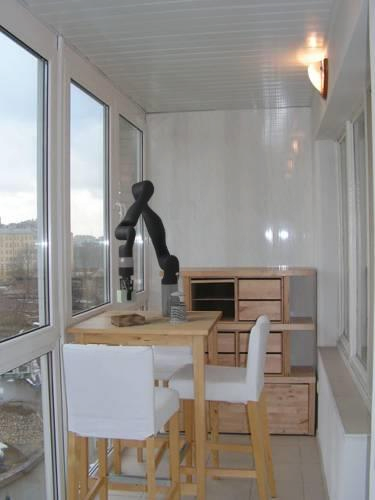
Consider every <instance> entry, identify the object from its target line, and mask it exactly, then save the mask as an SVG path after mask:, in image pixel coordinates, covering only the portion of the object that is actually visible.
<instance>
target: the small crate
mask: <svg viewBox="0 0 375 500" xmlns="http://www.w3.org/2000/svg"><path fill="white" fill-rule="evenodd" d="M116 300H117V301H116V302H117V303H120V304H129V303H130V304H131V303H137V289H134V288H133V292H132V293H131V300H129V301H128V300H127V291H126V290H120V289H117V290H116Z"/></svg>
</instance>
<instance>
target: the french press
mask: <svg viewBox="0 0 375 500" xmlns="http://www.w3.org/2000/svg"><path fill="white" fill-rule="evenodd" d="M176 275H179V276H180V272H179V273H178V272H177V273H176ZM171 296H178V302H172V304H180V305H171V316H170V320H169V323H171V324H183V323H188V322H189V320H188V319H187V304H186V302H185V301H180V302H179V298H180V297H186V296H187V294H186V293H185V292H183V291H179V290H178V291H177V292H174V293H172V294H171ZM168 299H169V298H168ZM168 299H167V300H168ZM167 300H166V302H165V306H166V307H167V304H166V303H167ZM170 300H172V298H171V297H170ZM166 309H168V308H166ZM176 309H178V310H176ZM168 310H169V309H168ZM174 311H175V312H174ZM169 312H170V310H169ZM176 312H179V313H176ZM176 314H178V315H176Z"/></svg>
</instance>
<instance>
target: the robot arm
mask: <svg viewBox="0 0 375 500" xmlns="http://www.w3.org/2000/svg"><path fill="white" fill-rule="evenodd" d="M131 193H132V196H133V199H134V202H133V203H132V205H130V207H128V209H127V211H126V213H125V215H124V218H123V219H122V220H121V221H120V222H119V223H118V225H117V226H116V227H115V229H114V237H115V239H116V240H117V241H126V242H125V244H121V245H119V247H118V263H117V264H118V276H119V277H121V278H119V290H126V291H127V300H128V301H129V300H131V293H132V292H133V289H134V284H135V283H134V282H135V281H134V279H132V276H134V275H135V270H134V268H135V267H134V266H135V265H134V264H135V263H134V261H135V260H134V245H135V240H136V236H137V231H136V228H135V227H136V226H137V224H138V222H139V220H140V217H141V216H142V219H143V222H144V225H145V228H146V232H147V233H148V235H149V238H150V240H151V244H152V246H153V249H154V252H155V255H156V259H157V263H158V267H159V268H160V269H161V270H162V271H163V277H162V278H161V279H160V283H161V288H160V289H161V316H163V317H171V305H181V304H172V302H178V296H171V294H172V293H174V292H177V291H179V279H180V275H176V273H177V272H178V273H179V274H180V261H179V258H178V257H177V256H176V255H174V254H171V253H170V251H169V248H168V246H167V241H166V239H167V238H166V237H167V235H166V229H165V225H164V222H163V220H162V218H161V217H160V216H159V214H157V212H156V211H154V210H153V209H152V208H151V207H150V206H149V204H148V203H149V201H150V200H151V198H152V197H153V195H154V193H155V186H154V183H153V182H152V181H151V180H149V179H145V180H141V181H138V182H136V183H134V184H132V185H131ZM170 297H171V298H172V300H170ZM168 298H169V299H168ZM167 299H168V300H167ZM166 300H167V303H166V304H167V307H166V306H165V302H166ZM179 302H181V298H180V297H179ZM166 308H168V309H169V310H170V312H169V310H168V309H166ZM176 310H178V309H176ZM174 312H175V311H174ZM176 313H179V312H176ZM176 315H178V314H176Z"/></svg>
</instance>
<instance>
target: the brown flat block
mask: <svg viewBox="0 0 375 500" xmlns="http://www.w3.org/2000/svg"><path fill="white" fill-rule="evenodd" d="M144 324H145V325H146V317H145V315H142V314H138V313H128V314H119V315H118V314H117V315H110V325H113V326H115V327H118V328H124V327H125V326H126V327H134V326H135V325H136V326H144ZM126 327H125V328H126Z"/></svg>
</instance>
